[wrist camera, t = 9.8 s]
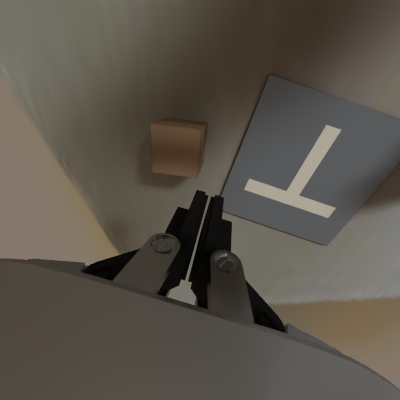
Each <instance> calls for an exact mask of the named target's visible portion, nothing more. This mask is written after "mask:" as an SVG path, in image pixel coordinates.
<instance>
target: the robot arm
mask: <svg viewBox="0 0 400 400" xmlns="http://www.w3.org/2000/svg"><path fill="white" fill-rule="evenodd" d="M205 193H206V192H203V191H199V190H197V191H196V193H195V196H194V198H193V201H192V203H191V206H190V208H189V210H188V209H184V208H181V207H178V208H177V210H176V212H175V214H174V216H173V218H172V220H171V222H170V224H169V226H168V227H167V229H166V231H165V233H158V234H155V235H153V236H152V237H150V238H149V239H148V241H147V242H146V243H145V244H144V245H143V246H142V247H141V249H137V250H134V251H131V252H128V253H124V254H121V255H118V256H115V257H111V258H108V259H105V260H102V261H98V262H96V263H93V264H91V265H89V266H85V263H80V262H68V261H55V260H42V259H29V260H22V259H6V258H5V259H0V400H400V389H399V388H397V387H396V386H395V385H394V384H392V383H391V382H390V381H388V380H387V379H385V378H384V377H382V376H381V375H379V374H378V373H377V372H375V371H373V370H372V369H370V368H369V367H367V366H365V365H364V364H362V363H360V362H358V361H356V360H354V359H353V358H351V357H348V356H346V355H344V354H342V353H341V352H340V351H338V350H337V349H336V348H334V347H332V346H330V345H328V344H326V343H325V342H323V341H321V340H319V339H317V338H315V337H313V336H311V335H309V334H308V333H305V332H304V331H302V330H300V329H298V328H296V327H294V326H292V325H290V324H289V323H288V324H287V325H285V324H283V323H282V321H281V320H280V318H279V317H278V316H277V314H276V313H275V312H274V311H273V310H272V309H271V308H270V307H269V305H268V304H267V303H266V302H265V301H264V300H263V299H262V298H261V297H260V295H259V294H258V293H257V292H256V291H255V290H254V289H253V288H252V287H251V285H250V284H249V283H248V282H247V281H246V280H245V276H244V271H243V266H242V263H241V261H240V259H239V258H238V257H237V256H236V255H235V254H234V253H232V252H231V232H232V222H230V221H227V220H223V219H222V212H223V204H224V197H221V196H217V195H215V197H212V196H211V199H210V202H209V206H208V209H207V213H206V216H205V219H204V223H203V226H202V230H201V233H200V237H199V241H198V245H197V249H196V253H195V257H194V260H193V264H192V268H191V272H190V276H189V280H188V281H189V282H192V285H191V289H192V291H193V292H194V294H195V295H196V300H195V305H191V304H188V303H185V302H181V301H178V300H175V299H171V298H168V295H169V292H170V289H172V288H174V287H176V286H179V284H180V281H181V279H182V280H185V278H186V275H187V271H188V268H189V264H190V261H191V257H192V253H193V250H194V246H195V243H196V239H197V236H198V232H199V228H200V225H201V221H202V217H203V214H204V210H205V206H206V203H207V199H208V195H205Z"/></svg>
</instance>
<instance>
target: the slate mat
mask: <svg viewBox="0 0 400 400" xmlns="http://www.w3.org/2000/svg"><path fill="white" fill-rule="evenodd" d="M399 163H400V118H397V117H394V116H391V115H388V114H385V113H382V112H379V111H376V110H373V109H370V108H367V107H364V106H361V105H358V104H355V103H352V102H349V101H347V100H344V99H341V98H338V97H335V96H332V95H329V94H326V93H323V92H320V91H317V90H314V89H311V88H308V87H305V86H302V85H299V84H297V83H294V82H291V81H288V80H285V79H282V78H279V77H276V76H273V75H269V77H268V79H267V82H266V84H265V87H264V89H263V92H262V94H261V97H260V99H259V102H258V104H257V107H256V109H255V112H254V114H253V117H252V119H251V122H250V124H249V127H248V129H247V132H246V134H245V137H244V139H243V142H242V144H241V147H240V149H239V152H238V154H237V157H236V159H235V162H234V164H233V167H232V169H231V172H230V174H229V177H228V179H227V182H226V184H225V187H224V189H223V192H222V194H221V197H224V204H223V211H225V212H228V213H230V214H233V215H236V216H239V217H242V218H245V219H248V220H251V221H254V222H257V223H260V224H263V225H266V226H269V227H272V228H275V229H278V230H281V231H284V232H287V233H289V234H292V235H295V236H298V237H301V238H304V239H307V240H310V241H313V242H316V243H319V244H322V245H325V246H327V245H328V244H329V243H330V242H331V240H332V239H333V238H334V237H335V236H336V235H337V234H338V233H339V231H340V230H341V229H342V228H343V227H344V226H345V225H346V223H347V222H348V221H349V220H350V219H351V218H352V217H353V216H354V214H355V213H356V212H357V211H358V210H359V209H360V208H361V206H362V205H363V204H364V203H365V202H366V201H367V200H368V199H369V197H370V196H371V195H372V194H373V193H374V192H375V191H376V189H377V188H378V187H379V186H380V185H381V184H382V183H383V182H384V180H385V179H386V178H387V177H388V176H389V175H390V174H391V172H392V171H393V170H394V169H395V168H396V167H397V166H398V165H399Z"/></svg>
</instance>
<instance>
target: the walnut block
mask: <svg viewBox="0 0 400 400" xmlns="http://www.w3.org/2000/svg"><path fill="white" fill-rule="evenodd" d="M150 128H151V154H152V172H157V173H164V174H170V175H177V176H184V177H190V178H197V176H198V174H199V172H200V170H201V168H202V166H203V162H204V152H205V142H206V132H207V123H204V122H195V121H187V120H179V119H170V118H165V119H162V120H159V121H157V122H154V123H151V124H150Z"/></svg>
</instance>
